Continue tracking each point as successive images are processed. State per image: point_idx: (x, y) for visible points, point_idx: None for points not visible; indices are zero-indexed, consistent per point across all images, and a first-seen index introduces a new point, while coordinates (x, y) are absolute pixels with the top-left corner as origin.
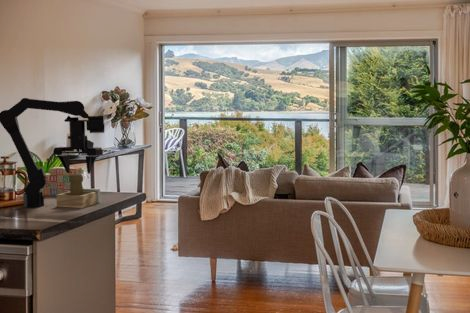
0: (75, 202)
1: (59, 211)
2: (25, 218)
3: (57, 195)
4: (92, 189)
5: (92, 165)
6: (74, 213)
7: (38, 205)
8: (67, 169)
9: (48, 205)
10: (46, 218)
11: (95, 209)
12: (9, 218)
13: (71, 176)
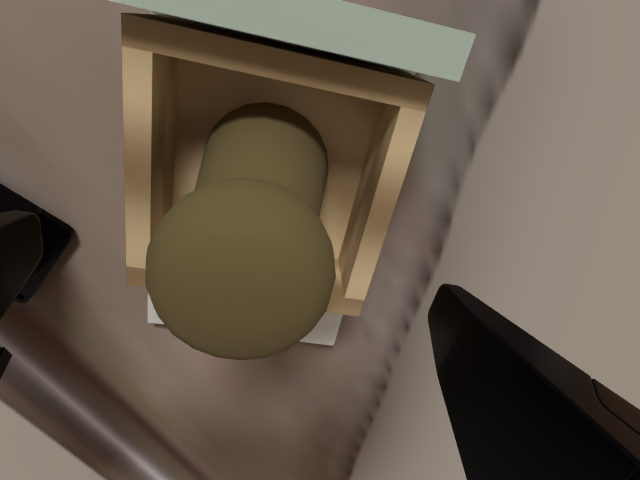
0: None
1: None
2: (156, 439)
3: (138, 282)
4: (388, 65)
5: (577, 382)
6: None
7: (36, 265)
8: (2, 305)
9: (2, 98)
10: (248, 432)
11: (422, 227)
12: (85, 445)
13: (203, 349)
